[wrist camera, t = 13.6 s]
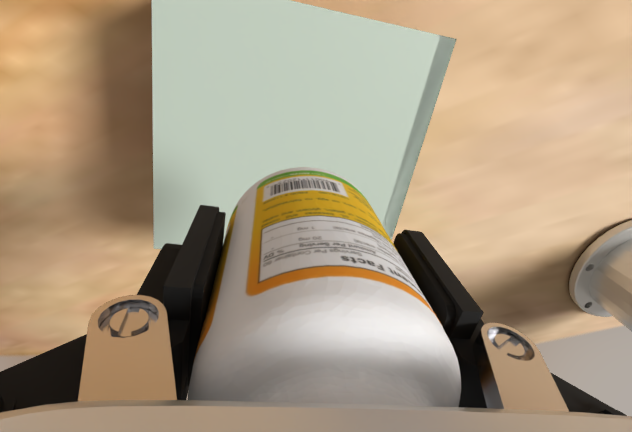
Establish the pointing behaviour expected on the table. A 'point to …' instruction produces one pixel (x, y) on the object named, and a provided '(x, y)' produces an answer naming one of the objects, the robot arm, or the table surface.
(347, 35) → the lid
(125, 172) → the table surface
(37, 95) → the table surface
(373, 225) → the supplement bottle
